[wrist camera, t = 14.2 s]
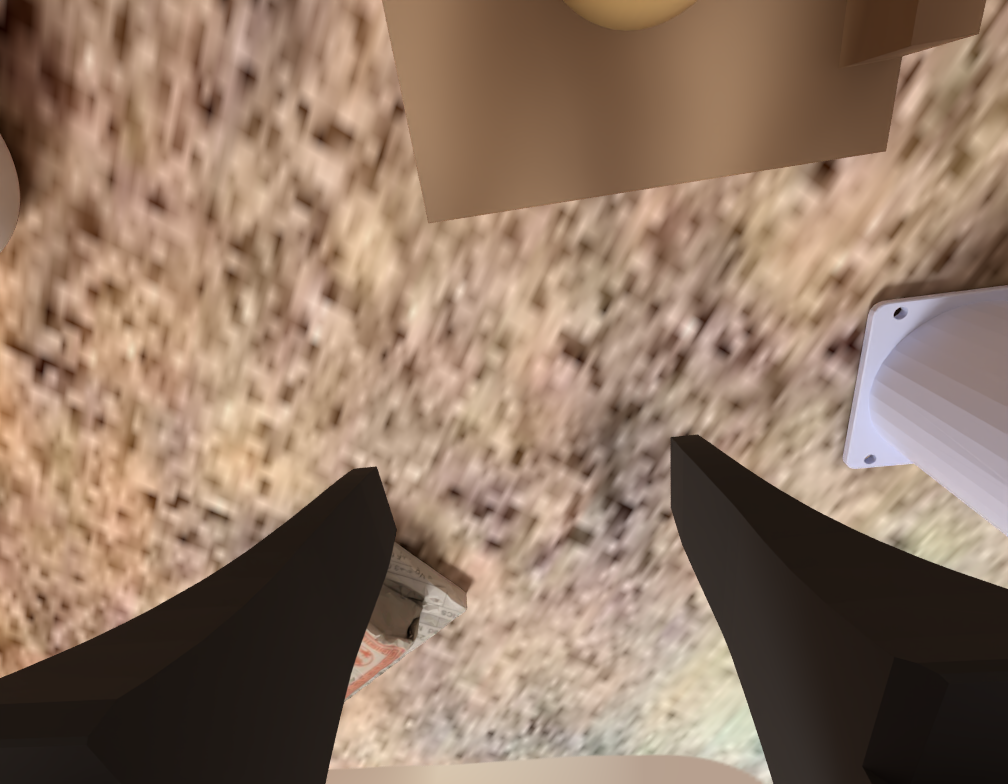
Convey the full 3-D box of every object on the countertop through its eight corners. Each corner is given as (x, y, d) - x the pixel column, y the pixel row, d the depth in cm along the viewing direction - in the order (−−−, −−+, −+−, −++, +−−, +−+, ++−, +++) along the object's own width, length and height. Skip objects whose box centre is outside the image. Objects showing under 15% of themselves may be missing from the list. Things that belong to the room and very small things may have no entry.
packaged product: (281, 790, 30) (136, 720, 28) (313, 712, 35) (190, 644, 32) (461, 663, 24) (294, 556, 21) (473, 586, 28) (334, 491, 26)
